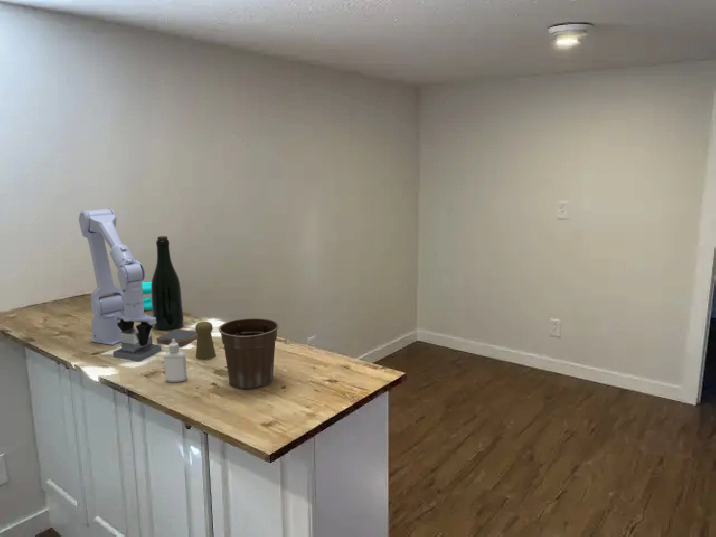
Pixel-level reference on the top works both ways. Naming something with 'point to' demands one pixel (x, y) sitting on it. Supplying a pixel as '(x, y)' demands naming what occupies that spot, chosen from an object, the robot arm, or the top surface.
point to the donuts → (146, 290)
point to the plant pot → (249, 351)
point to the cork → (204, 341)
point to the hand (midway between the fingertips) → (137, 343)
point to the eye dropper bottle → (175, 364)
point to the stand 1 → (138, 353)
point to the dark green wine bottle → (166, 290)
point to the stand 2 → (178, 337)
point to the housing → (133, 341)
